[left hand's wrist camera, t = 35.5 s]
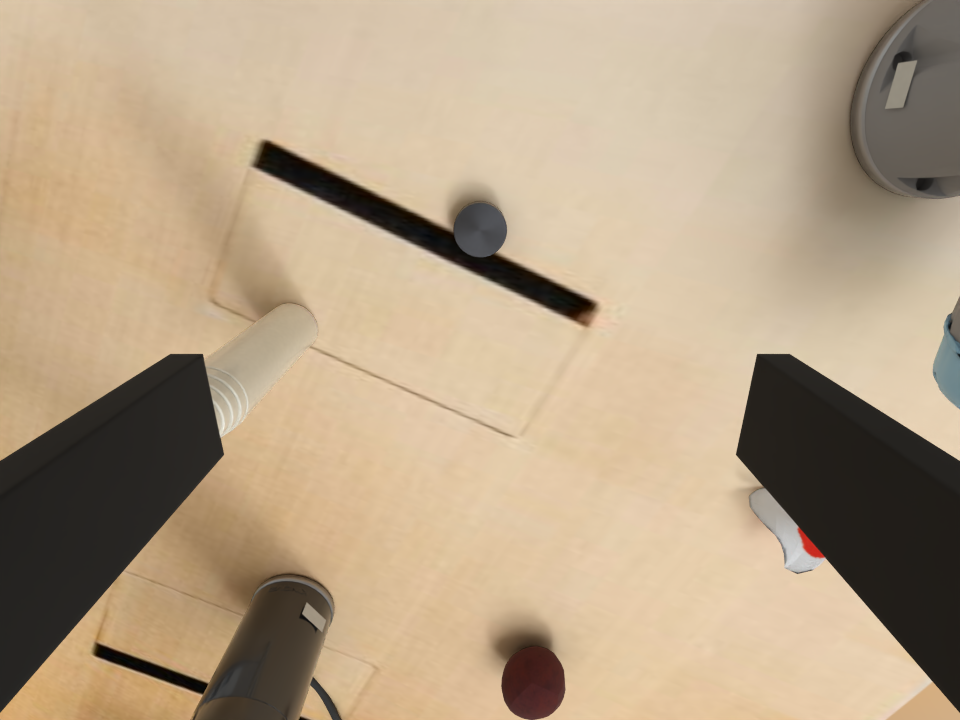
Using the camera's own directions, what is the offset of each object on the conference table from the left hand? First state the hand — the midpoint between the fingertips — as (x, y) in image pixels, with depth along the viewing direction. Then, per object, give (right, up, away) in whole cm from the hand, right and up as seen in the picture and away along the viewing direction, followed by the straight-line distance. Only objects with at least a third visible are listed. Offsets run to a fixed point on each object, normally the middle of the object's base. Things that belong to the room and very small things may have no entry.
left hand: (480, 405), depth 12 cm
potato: (+6, -35, +51) cm, 62 cm away
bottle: (-17, +4, +35) cm, 40 cm away
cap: (0, +12, +31) cm, 33 cm away
